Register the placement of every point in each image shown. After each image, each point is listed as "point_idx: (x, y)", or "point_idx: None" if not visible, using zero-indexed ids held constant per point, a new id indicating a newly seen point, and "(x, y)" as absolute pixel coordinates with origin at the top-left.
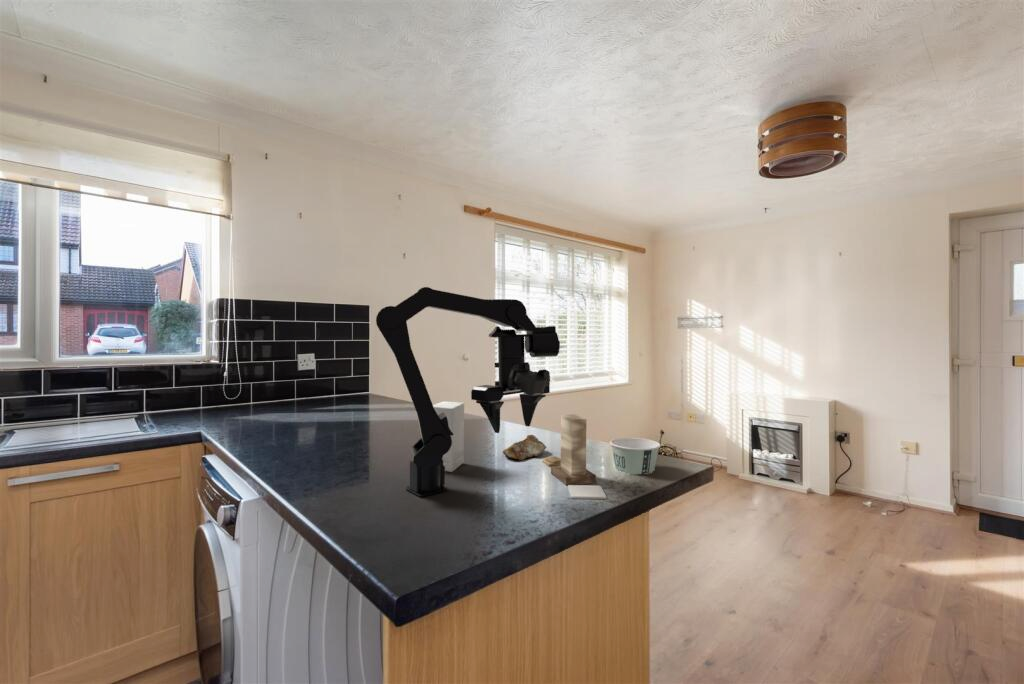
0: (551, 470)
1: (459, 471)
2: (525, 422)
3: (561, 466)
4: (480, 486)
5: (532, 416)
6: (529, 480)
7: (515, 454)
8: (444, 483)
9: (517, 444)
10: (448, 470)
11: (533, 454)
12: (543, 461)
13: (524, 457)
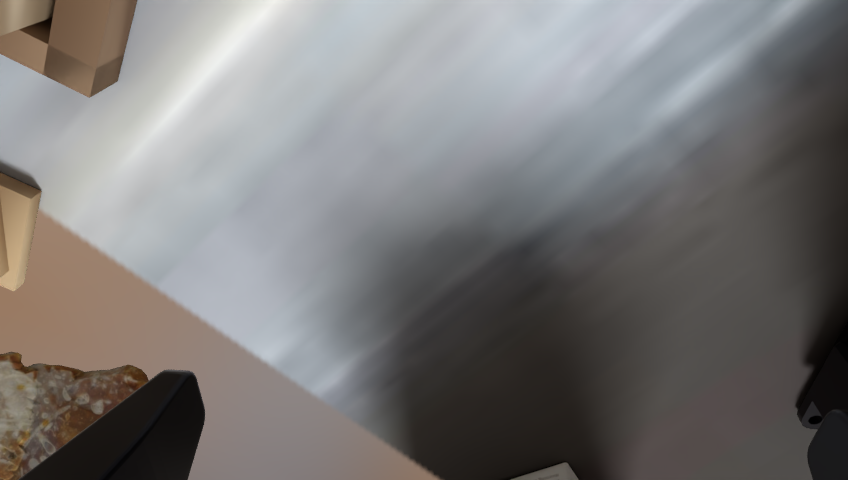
0: (105, 82)
1: (531, 446)
2: (184, 457)
3: (26, 11)
4: (670, 221)
5: (32, 477)
6: (347, 85)
7: None
8: (846, 347)
9: None
10: (577, 478)
11: (23, 370)
12: (23, 271)
13: (99, 374)
